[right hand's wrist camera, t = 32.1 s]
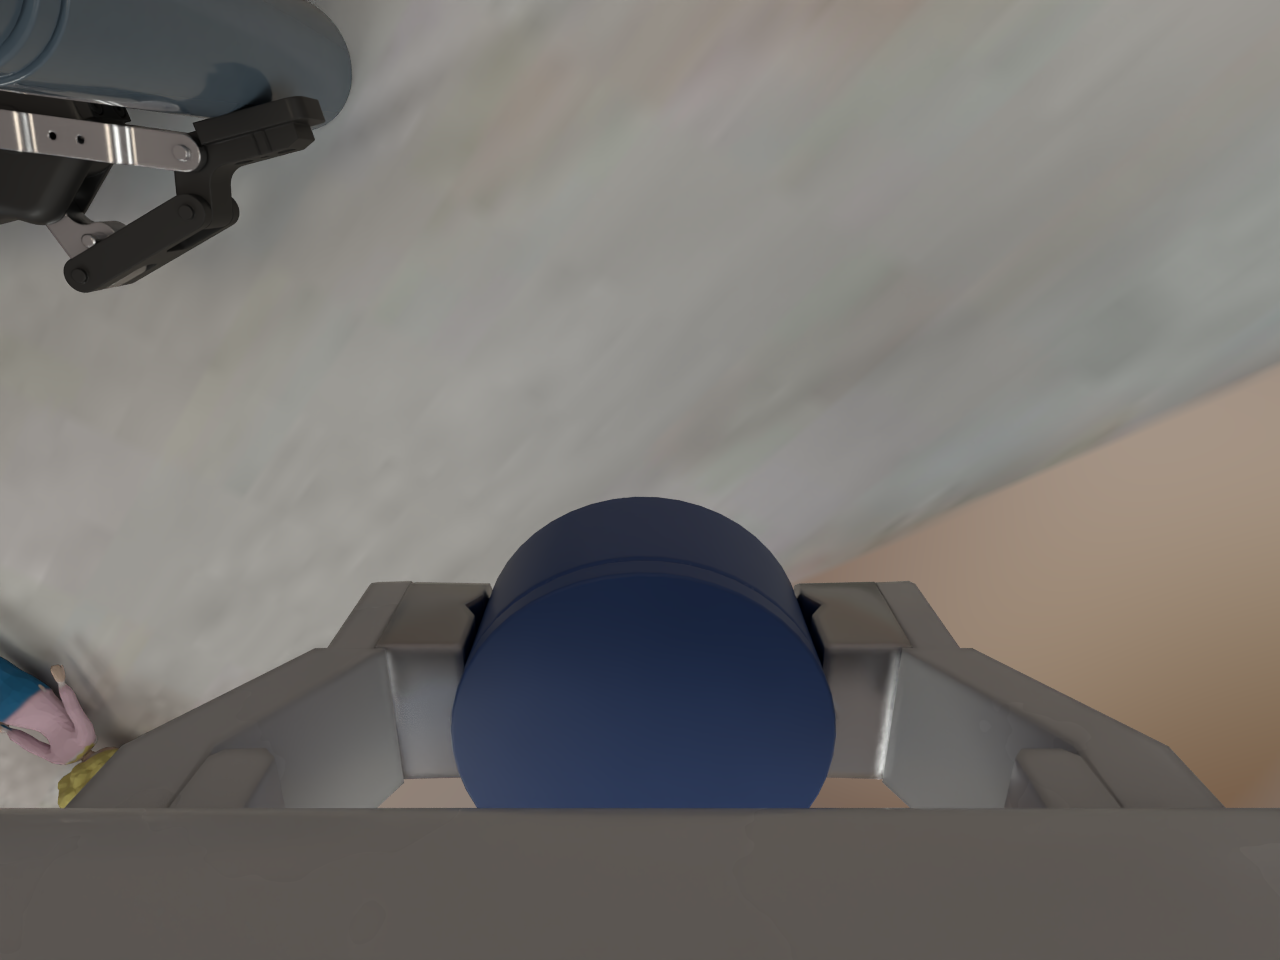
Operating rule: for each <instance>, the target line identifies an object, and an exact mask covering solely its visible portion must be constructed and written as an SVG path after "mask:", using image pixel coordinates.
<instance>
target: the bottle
mask: <svg viewBox="0 0 1280 960" xmlns="http://www.w3.org/2000/svg"><path fill="white" fill-rule="evenodd" d="M351 79H352V69H351V61H350V57H349V52H348V49H347V47H346V44H345V42H344V40H343V37H342V35H341V34H340V32H339V30H338V29H337V27H336V26H335V25H334V23H333V22H332V21H331V20H330V19H329V18H328V17H327V16H326V15H325V14H324V13H323V12H322V11H321V10H320V9H318V8H317V7H315V6H314V5H312V4H311V3H309V2H307V1H305V0H0V91H8V92H15V93H22V94H30V95H37V96H44V97H52V98H59V99H66V100H74V101H81V102H88V103H96V104H103V105H110V106H118V107H125V108H132V109H140V110H147V111H154V112H162V113H169V114H177V115H184V116H191V117H199V118H206V119H209V118H213V117H217V116H221V115H224V114H228V113H231V112H235V111H238V110H242V109H246V108H249V107H253V106H257V105H260V104H264V103H268V102H271V101H275V100H279V99H282V98H287V97H292V96H304V97H308V98H313V99H317V100H318V101H319V104H320V107H321V109H322V112H323V115H324V118H325V122H324V123H322V124H319V125H315V126H311V130H313V129H316V128H319V127H321V126H324V125H326V124H327V123H328V122H330V121H331V120H333V119H334V118H335V117H336V116H337V115H338V113H339V112H340V111H341V109H342V108H343V106H344V104H345V103H346V100H347V98H348V95H349V91H350V87H351Z"/></svg>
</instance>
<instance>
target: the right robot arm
mask: <svg viewBox="0 0 1280 960" xmlns="http://www.w3.org/2000/svg"><path fill="white" fill-rule="evenodd" d="M492 591H493V590H492V587H491V585H490V583H440V582H415V583H413V582H412V581H399V582H375V583H371V584H370V585H369V587H368V588H367V590H366V591H365V593H364V594H363V596H362V597H361V599H360V600H359V602H358V603H357V605H356V606H355V608H354V609H353V610H352V612H351V613H350V615H349V616H348V618H347V619H346V621H345V622H344V624H343V625H342V627H341V628H340V630H339V631H338V633H337V634H336V636H335V637H334V639H333V640H332V642H331V643H330V645H329V646H328V648H315V649H313V650H311V651H309V652H307V653H305V654H303V655H301V656H299V657H297V658H295V659H293V660H291V661H289V662H287V663H285V664H283V665H281V666H279V667H277V668H275V669H273V670H271V671H269V672H267V673H265V674H263V675H261V676H259V677H257V678H255V679H253V680H251V681H249V682H247V683H245V684H243V685H241V686H239V687H237V688H235V689H233V690H231V691H229V692H227V693H225V694H223V695H221V696H219V697H217V698H215V699H213V700H211V701H209V702H207V703H205V704H203V705H201V706H199V707H197V708H195V709H193V710H191V711H189V712H187V713H185V714H183V715H181V716H179V717H177V718H175V719H173V720H171V721H169V722H167V723H165V724H163V725H161V726H159V727H157V728H155V729H153V730H151V731H149V732H147V733H145V734H144V735H142V736H140V737H138V738H136V739H134V740H132V741H130V742H128V743H126V744H124V745H122V746H121V747H120V748H119V749H118V750H117V751H116V752H115V753H114V754H113V756H112V757H111V758H110V759H109V760H108V761H107V762H106V763H105V764H104V765H103V766H102V767H101V769H100V770H99V771H98V772H97V773H96V774H95V775H94V776H93V777H92V778H91V779H90V781H89V782H88V783H87V784H86V785H85V786H84V787H83V788H82V789H81V790H80V791H79V792H78V794H77V795H76V796H75V797H74V798H73V799H72V800H71V801H70V802H69V803H68V804H67V806H66V807H65V808H0V960H1280V808H1225V807H1224V806H1223V805H1222V803H1221V802H1220V801H1219V800H1218V799H1217V798H1216V797H1215V796H1214V795H1213V794H1212V793H1211V792H1210V791H1209V789H1208V788H1207V787H1206V786H1205V785H1204V784H1203V783H1202V782H1201V781H1200V780H1199V779H1198V778H1197V777H1196V775H1195V774H1194V773H1193V772H1192V771H1191V770H1190V769H1189V768H1188V767H1187V766H1186V765H1185V764H1184V763H1183V761H1182V760H1181V759H1180V758H1179V757H1178V756H1177V755H1176V754H1175V753H1174V752H1173V751H1172V750H1171V749H1170V748H1169V747H1168V746H1167V745H1165V744H1163V743H1161V742H1159V741H1157V740H1155V739H1153V738H1151V737H1149V736H1147V735H1145V734H1143V733H1141V732H1139V731H1137V730H1135V729H1133V728H1131V727H1129V726H1127V725H1125V724H1123V723H1121V722H1119V721H1117V720H1115V719H1113V718H1111V717H1109V716H1107V715H1105V714H1103V713H1101V712H1099V711H1097V710H1095V709H1092V708H1091V707H1088V706H1087V705H1085V704H1083V703H1081V702H1079V701H1077V700H1075V699H1073V698H1071V697H1069V696H1067V695H1065V694H1063V693H1061V692H1059V691H1057V690H1055V689H1052V688H1051V687H1049V686H1047V685H1045V684H1043V683H1041V682H1039V681H1037V680H1035V679H1033V678H1031V677H1029V676H1027V675H1025V674H1023V673H1021V672H1019V671H1017V670H1015V669H1013V668H1011V667H1009V666H1007V665H1005V664H1003V663H1001V662H999V661H997V660H995V659H993V658H991V657H989V656H987V655H985V654H983V653H981V652H979V651H977V650H975V649H973V648H960V647H959V646H958V645H957V643H956V642H955V640H954V639H953V637H952V636H951V635H950V633H949V632H948V630H947V629H946V627H945V626H944V625H943V623H942V622H941V620H940V619H939V617H938V616H937V615H936V613H935V612H934V610H933V609H932V607H931V606H930V604H929V603H928V602H927V600H926V599H925V597H924V596H923V594H922V593H921V592H920V590H919V589H918V587H917V586H916V584H914V583H912V582H910V581H898V582H876V583H875V582H850V583H807V584H797V585H795V586H794V593H795V596H796V599H797V601H798V604H799V607H800V609H801V612H802V615H803V617H804V620H805V623H806V625H807V628H808V631H809V633H810V636H811V639H812V642H813V644H814V647H815V650H816V652H817V655H818V658H819V660H820V663H821V666H822V668H823V671H824V674H825V677H826V679H827V682H828V685H829V687H830V690H831V693H832V698H833V703H834V708H835V713H836V739H835V747H834V754H833V758H832V761H831V765H830V768H829V771H828V775H827V778H864V779H883V781H882V782H883V783H884V784H885V785H886V786H887V787H888V788H889V789H890V790H891V791H893V792H894V793H895V794H896V795H897V796H898V797H899V798H900V799H901V800H902V801H903V802H904V803H906V804H907V805H908V806H909V807H910V808H377V807H378V806H380V805H381V804H382V803H383V802H384V801H385V800H386V799H387V798H388V797H389V796H390V795H391V794H392V793H394V792H395V791H396V790H397V789H398V788H399V787H400V786H401V785H402V784H403V783H404V779H422V778H458V777H460V774H459V772H458V769H457V765H456V761H455V757H454V753H453V749H452V738H451V718H452V707H453V703H454V699H455V695H456V691H457V687H458V684H459V681H460V679H461V676H462V673H463V671H464V667H465V665H466V662H467V659H468V656H469V654H470V651H471V648H472V645H473V642H474V640H475V637H476V634H477V631H478V629H479V626H480V623H481V620H482V617H483V615H484V612H485V609H486V606H487V604H488V601H489V598H490V595H491V593H492Z"/></svg>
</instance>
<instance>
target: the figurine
mask: <svg viewBox="0 0 1280 960" xmlns="http://www.w3.org/2000/svg"><path fill="white" fill-rule="evenodd" d="M51 673H52V675H53V677H54V679H55V681H56V682H57V683H58V687H59V693H60V697H61V699H62V701H63V702H62V701H61V700H60V699H59V698H58V697H57V696H56V695H55V694H54V692H53V691H52V689H51V688H50V687H49V686H47V685H46V684H45V683H43V682H42V681H40V680H38V679H37V678H35V677H33V676H32V675H30V674H28V673H26V672H24V671H22V670H20V669H19V668H17V667H16V666H15V665H13V664H12V663H10V662H9V661H7V660H5V659H4V658H2V657H0V732H1V733H7V735H8V736H9V738H10V740H12V741H14V742H15V743H17V744H18V745H20V746H21V747H22V748H23V749H25V750H27V751H28V752H30V753H33V754H35V755H37V756H39V757H42V758H44V759H46V760H48V761H49V762H51V763H54V764H65V765H66V764H71V763H74V762H77V761H80V760H82V762H81V763H79V764H78V765H76V766H75V767H74V768H73V769H72V771H71V772H70V773H69V774H67V775H66V776H64V777H63V778H62V779H61V780H60V781H59V782H58V789H59V796H58V805H59V807H60V808H65V807H66V806H67V804H68V803H69V802H70V801H71V800H72V799H73V798H74V797H75V796H76V795H77V794H78V792H79V791H80V790H81V789H82V788H83V787H84V786H85V785H86V784H87V783H88V782H89V781H90V779H91V778H92V777H93V776H94V775H95V774H96V773H97V772H98V771H99V770H100V769H101V767H102V766H103V765H104V764H105V763H106V762H107V761H108V760H109V759H110V758H111V757H112V756H113V754H114V753H115V752H116V751H117V750H118V749H119V748H115V747H106V748H103V749H101V750H99V751H97V752H94V751H92V750H91V749H92V748H93V746H94V745H95V744H96V743H97V739H98V738H97V736H96V734H95V731H94V727H93V724H92V723H91V721H90V720H89V718H88V717H87V716H86V714H85V713H84V711H83V709H82V707H81V706H80V704H79V702H78V700H77V697H76V695H75V693H74V692H73V690H72V688H70V687H69V686H68V685H67V684H66V683H65V670H64V667H63V665H61V666H59V665H54V666H51ZM9 725H13V726H18V727H22V728H27V729H32V730H36V731H39V732H41V733H42V734H43V735H44V736H45V737H46V738H47V739H48V741H49V743H50V745H49V744H46V743H43V742H41V741H39V740H37V739H36V738H34V737H33V736H31V735H29V734H27V733H25V732H23V731H21V730H17V729H13V728H10V727H9Z"/></svg>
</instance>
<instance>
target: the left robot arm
mask: <svg viewBox="0 0 1280 960" xmlns="http://www.w3.org/2000/svg"><path fill="white" fill-rule="evenodd" d="M130 121H131V120H130V117H129V115H128V113H127V110H126V108H125V107H118V106H110V105H103V104H96V103H88V102H81V101H74V100H66V99H59V98H52V97H44V96H37V95H30V94H22V93H15V92H8V91H0V224H4V223H8V222H12V221H15V220H21V221H25V222H28V223H32V224H36V225H46V226H47V227H48V228H49V230H50V231H51V233H52V234H53V235H54V237H55V238H56V239H57V241H58V242H59V243H60V245H61V246H62V247H63V249H64V250H65V251H66V253H67V254H68V255H69V257H70V258H71V259H70V260H68V261H67V262H66V264H65V266H64V276H65V279H66V281H67V282H68V284H69V285H70V286H71V287H72V288H74V289H75V290H77V291H79V292H84V293H88V292H93V291H97V290H102V289H107V288H112V287H117V286H122V285H127V284H131V283H134V282H136V281H137V280H139V279H141V278H143V277H144V276H146V275H148V274H149V273H151V272H153V271H155V270H156V269H158V268H160V267H161V266H163V265H165V264H167V263H168V262H170V261H172V260H173V259H175V258H177V257H179V256H180V255H182V254H184V253H185V252H187V251H189V250H191V249H192V248H194V247H196V246H197V245H199V244H201V243H203V242H204V241H206V240H208V239H209V238H211V237H213V236H215V235H216V234H218V233H220V232H221V231H223V230H225V229H227V228H228V227H230V226H232V225H233V224H235V223H236V222H237V220H238V218H239V207H238V205H237V203H236V201H235V200H234V199H233V198H232V197H231V178H232V175H233V173H234V172H235V171H236V170H237V169H238V168H239V167H241V166H244V165H247V164H251V163H255V162H258V161H262V160H266V159H270V158H274V157H277V156H281V155H285V154H288V153H292V152H296V151H300V150H304V149H305V148H306V147H307V146H309V145H310V144H311V143H312V142H313V141H314V140H315V139H314V136H313V133H312V130H311V126H315V125H319V124H322V123H324V122H325V118H324V115H323V112H322V109H321V107H320V104H319V101H318V100H317V99H313V98H308V97H304V96H292V97H287V98H282V99H279V100H275V101H271V102H268V103H264V104H260V105H257V106H253V107H249V108H246V109H242V110H238V111H235V112H231V113H228V114H224V115H221V116H217V117H213V118H209V119H205V120H202V121H198V122H194V123H193V125H194V127H195V130H196V131H194V132H190V133H185V132H177V131H171V130H165V129H158V128H150V127H143V126H136V125H128V124H125V123H126V122H130ZM113 164H124V165H135V166H143V167H151V168H158V169H165V170H173V171H174V174H175V184H176V195H177V196H175V197H173V198H172V199H170V200H168V201H167V202H165V203H163V204H162V205H160V206H158V207H157V208H155V209H153V210H152V211H150V212H148V213H147V214H145V215H143V216H142V217H140V218H138V219H137V220H135V221H133V222H132V223H130V224H128V225H127V226H126V225H125V224H123V223H121V222H119V221H104V222H93V221H91V220H90V219H89V218H87V217H86V216H85V213H86V211H87V210H88V208H89V206H90V204H91V203H92V201H93V199H94V197H95V195H96V194H97V192H98V190H99V188H100V187H101V185H102V183H103V181H104V179H105V178H106V176H107V174H108V172H109V171H110V169H111V167H112V165H113Z"/></svg>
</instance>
